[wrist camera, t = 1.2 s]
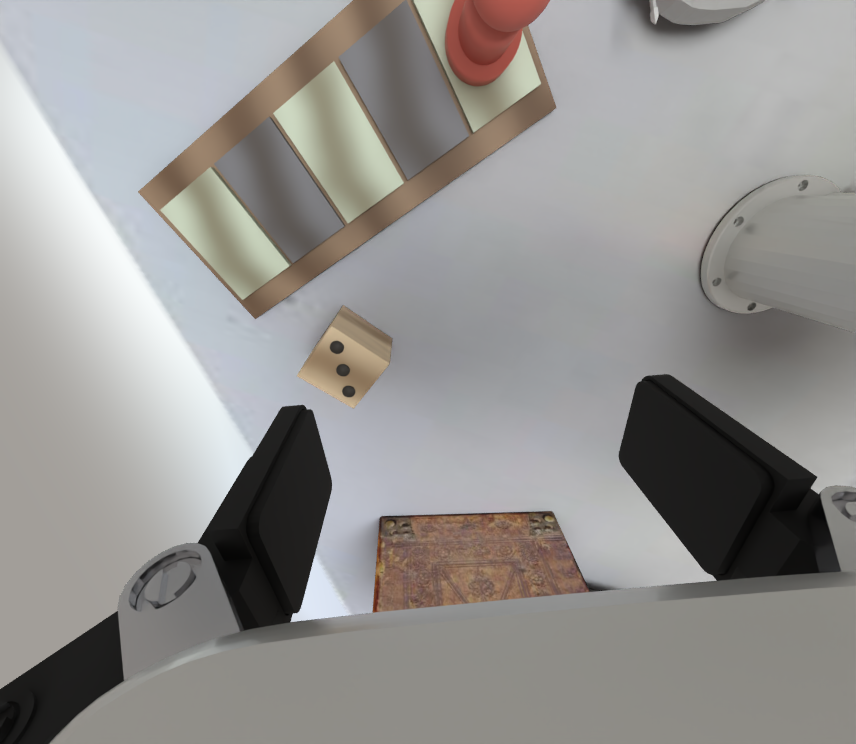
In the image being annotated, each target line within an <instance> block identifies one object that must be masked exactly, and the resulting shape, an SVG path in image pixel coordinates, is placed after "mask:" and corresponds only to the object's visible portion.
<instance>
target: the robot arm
mask: <svg viewBox="0 0 856 744" xmlns="http://www.w3.org/2000/svg"><path fill="white" fill-rule="evenodd" d="M701 281H702V287H703V289H704V292H705V294H706V296H707V297H708V298H709V299H710V301H711V302H712V303H714V304H715V305H717V306H718V307H720V308H722V309H725V310H727V311H730V312H734V313H739V314H751V313H757V312H762V311H765V310H768V309H771V308H776V309H779V310H783V311H786V312H789V313H792V314H796V315H799V316H802V317H805V318H808V319H812V320H815V321H818V322H821V323H825V324H828V325H831V326H834V327H837V328H841V329H844V330H847V331H850V332H854V333H856V193H841V191H840V189H839V188H838V187H837V186H836V185H835V184H834V183H833V182H832V181H829V180H827V179H825V178H823V177H819V176H812V175H802V176H790V177H785V178H780V179H778V180H775V181H772V182H770V183H767V184H765V185H763V186H762V187H760V188H758V189H756V190H755V191H753V192H752V193H750V194H749V195H748V196H746V197H745V198H744V199H742V200H741V201H740V202H739V203H738V204H737V205H736V206H735V207H734V208H733V209H732V210H731V211H730V212H729V213H728V214H727V215H726V216H725V217H724V219H723V220H722V221H721V223H720V224H719V225H718V226H717V228H716V230H715V231H714V233H713V235H712V237H711V238H710V240H709V243H708V245H707V247H706V250H705V252H704V256H703V260H702V264H701ZM619 460H620V463H621V465H622V467H623V468H624V469H625V470H626V472H627V473H628V474H629V476H630V477H631V478H632V479H633V481H634V482H635V483H636V484H637V486H638V487H639V488H640V490H641V491H642V492H643V493H644V495H645V496H646V497H647V498H648V500H649V501H650V502H651V504H652V505H653V506H654V507H655V509H656V510H657V511H658V513H659V514H660V515H661V516H662V518H663V519H664V520H665V521H666V523H667V524H668V525H669V527H670V528H671V529H672V530H673V532H674V533H675V534H676V536H677V537H678V538H679V539H680V541H681V542H682V543H683V544H684V546H685V547H686V548H687V550H688V551H689V552H690V553H691V555H692V556H693V557H694V559H695V560H696V561H697V562H698V564H699V565H700V566H701V567H702V569H703V570H704V571H705V572H707V573H708V574H711V575H713V576H714V577H715V579H716V580H717V581H709V582H698V583H686V584H675V585H663V586H651V587H640V588H629V589H618V590H607V591H596V592H585V593H574V594H563V595H552V596H542V597H531V598H520V599H509V600H498V601H488V602H478V603H467V604H457V605H447V606H437V607H426V608H416V609H406V610H396V611H385V612H375V613H366V614H358V615H349V616H341V617H332V618H324V619H315V620H306V621H297V622H290V621H291V617H292V614H293V613H298V612H299V610H300V608H301V605H302V601H303V598H304V594H305V590H306V586H307V582H308V578H309V575H310V571H311V567H312V563H313V559H314V556H315V552H316V548H317V544H318V540H319V537H320V533H321V529H322V525H323V521H324V517H325V514H326V510H327V506H328V502H329V498H330V494H331V490H332V480H331V475H330V472H329V468H328V464H327V461H326V457H325V454H324V450H323V446H322V443H321V439H320V435H319V432H318V428H317V424H316V421H315V417H314V414H313V411H312V410H311V409H310V410H307V409H306V407H305V406H304V405H297V406H285V407H282V408H281V409H280V411H279V412H278V414H277V416H276V417H275V419H274V421H273V422H272V424H271V426H270V427H269V429H268V431H267V433H266V434H265V436H264V438H263V439H262V441H261V443H260V444H259V446H258V448H257V449H256V451H255V453H254V454H253V456H252V457H250V459H249V460H248V461H247V462H246V464H245V466H244V468H243V469H242V471H241V473H240V474H239V476H238V477H237V479H236V481H235V482H234V484H233V486H232V487H231V489H230V491H229V492H228V494H227V495H226V497H225V499H224V501H223V502H222V504H221V506H220V507H219V509H218V510H217V512H216V514H215V515H214V517H213V519H212V520H211V522H210V524H209V525H208V527H207V529H206V530H205V532H204V533H203V535H202V537H201V538H200V540H199V542H198V543H186V544H182V545H178V546H175V547H172V548H170V549H168V550H166V551H164V552H162V553H160V554H158V555H157V556H155V557H154V558H152V559H151V560H149V561H148V562H147V563H146V564H144V565H143V566H142V567H141V568H140V569H139V570H138V571H137V572H136V573H135V574H134V575H133V576H132V578H131V579H130V580H129V581H128V582H127V584H126V585H125V587H124V589H123V591H122V593H121V595H120V597H119V603H118V611H117V612H115V613H114V614H112V615H111V616H109V617H108V618H106V619H105V620H103V621H102V622H100V623H99V624H97V625H96V626H94V627H93V628H91V629H90V630H88V631H87V632H85V633H84V634H82V635H81V636H79V637H78V638H76V639H75V640H74V641H72V642H70V643H69V644H67V645H66V646H64V647H63V648H61V649H60V650H58V651H57V652H55V653H54V654H52V655H51V656H49V657H48V658H46V659H45V660H43V661H42V662H40V663H39V664H38V665H36V666H34V667H33V668H31V669H30V670H28V671H27V672H25V673H24V674H22V675H21V676H19V677H18V678H16V679H15V680H13V681H12V682H10V683H9V684H7V685H6V686H4V687H3V688H1V689H0V744H856V488H854V487H849V486H830V487H826V488H825V489H823V490H822V491H821V492H820V494H817V493H816V492H815V491H813V490H812V489H810V488H811V486H812V485H813V483H814V482H815V480H816V478H817V476H815V475H814V474H812V473H811V472H809V471H808V470H807V469H805V468H804V467H802V466H801V465H799V464H798V463H796V462H795V461H794V460H792V459H791V458H789V457H788V456H786V455H785V454H783V453H782V452H781V451H779V450H778V449H776V448H775V447H773V446H772V445H770V444H769V443H768V442H766V441H765V440H763V439H762V438H760V437H759V436H757V435H756V434H755V433H753V432H752V431H750V430H749V429H747V428H746V427H744V426H743V425H742V424H740V423H739V422H737V421H736V420H734V419H733V418H732V417H730V416H729V415H727V414H726V413H724V412H723V411H721V410H720V409H719V408H717V407H716V406H714V405H713V404H711V403H710V402H708V401H707V400H706V399H704V398H703V397H701V396H700V395H698V394H697V393H695V392H694V391H693V390H691V389H690V388H688V387H687V386H685V385H684V384H682V383H681V382H680V381H678V380H677V379H675V378H674V377H672V376H670V375H667V374H664V375H653V376H646V377H644V378H643V379H642V381H641V382H638V384H637V385H636V388H635V392H634V396H633V400H632V404H631V408H630V412H629V416H628V420H627V424H626V428H625V431H624V435H623V439H622V443H621V447H620V451H619Z"/></svg>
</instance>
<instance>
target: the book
mask: <svg viewBox="0 0 856 744" xmlns="http://www.w3.org/2000/svg"><path fill="white" fill-rule="evenodd" d="M585 592H590V591H589V589H588V586H587V584H586V582H585V580H584V578H583V576H582V574H581V571H580V569H579V567H578V565H577V563H576V561H575V559H574V556H573V554H572V552H571V550H570V548H569V546H568V543H567V541H566V539H565V537H564V535H563V533H562V531H561V528H560V526H559V524H558V522H557V520H556V518H555V515H554V513H553V512H518V513H482V514H445V515H409V516H382V517H381V518H380V522H379V535H378V549H377V562H376V575H375V588H374V602H373V613H375V612H385V611H396V610H406V609H416V608H426V607H437V606H447V605H457V604H467V603H478V602H488V601H498V600H509V599H520V598H531V597H542V596H552V595H563V594H574V593H585Z"/></svg>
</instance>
